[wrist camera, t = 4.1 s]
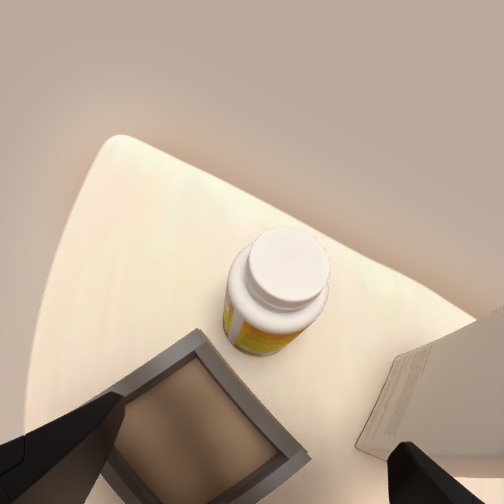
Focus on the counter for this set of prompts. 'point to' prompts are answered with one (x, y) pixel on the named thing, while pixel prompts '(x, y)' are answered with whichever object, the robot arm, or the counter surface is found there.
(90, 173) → the counter surface
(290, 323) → the supplement bottle
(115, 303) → the counter surface
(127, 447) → the tray
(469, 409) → the supplement box
